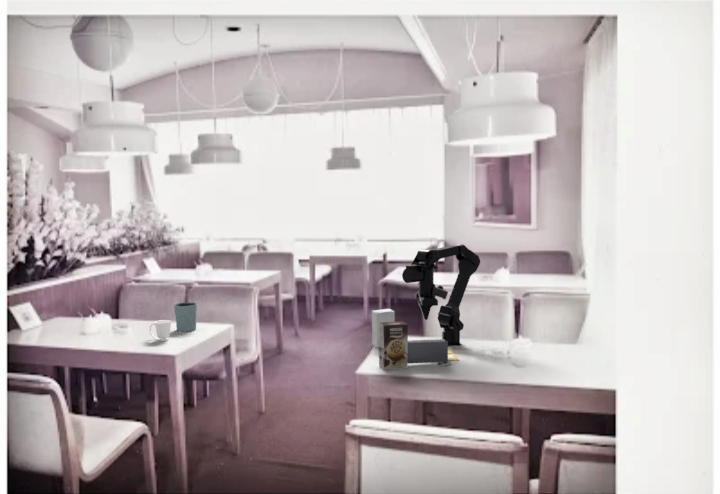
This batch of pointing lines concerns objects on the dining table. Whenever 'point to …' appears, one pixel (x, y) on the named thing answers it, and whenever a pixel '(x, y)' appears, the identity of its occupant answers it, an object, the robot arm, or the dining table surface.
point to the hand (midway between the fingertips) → (426, 319)
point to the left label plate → (452, 357)
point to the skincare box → (378, 317)
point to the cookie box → (393, 345)
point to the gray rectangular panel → (427, 351)
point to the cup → (162, 329)
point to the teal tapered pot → (185, 316)
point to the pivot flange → (444, 363)
